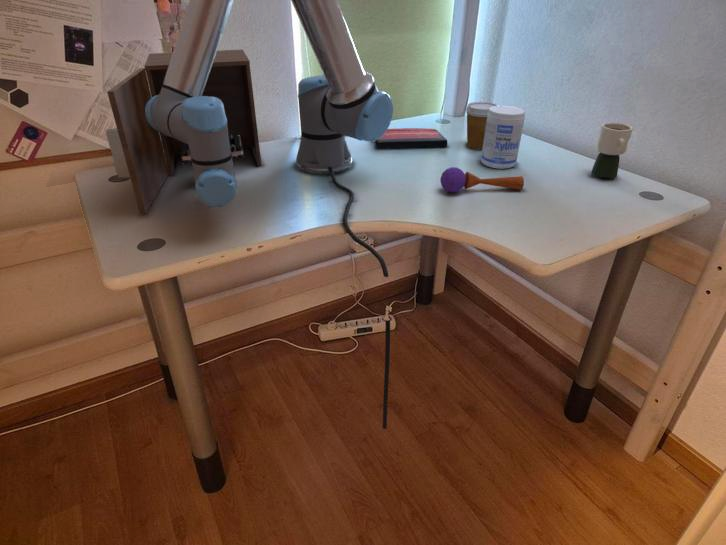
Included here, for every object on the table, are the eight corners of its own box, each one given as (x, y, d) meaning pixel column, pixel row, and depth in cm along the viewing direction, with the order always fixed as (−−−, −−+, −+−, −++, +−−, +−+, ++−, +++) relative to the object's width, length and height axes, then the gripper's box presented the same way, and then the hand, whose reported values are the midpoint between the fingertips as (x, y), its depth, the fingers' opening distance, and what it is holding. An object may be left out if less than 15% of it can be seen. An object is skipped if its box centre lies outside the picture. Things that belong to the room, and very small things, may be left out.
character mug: (625, 184, 124) (641, 133, 117) (597, 184, 124) (611, 132, 117) (608, 168, 133) (622, 120, 126) (582, 168, 133) (594, 120, 126)
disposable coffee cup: (495, 143, 151) (501, 103, 145) (491, 152, 144) (497, 111, 137) (464, 140, 154) (468, 100, 147) (459, 149, 146) (463, 108, 140)
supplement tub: (493, 172, 131) (502, 116, 123) (473, 160, 138) (480, 107, 130) (523, 167, 134) (533, 112, 126) (502, 156, 141) (510, 103, 133)
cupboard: (274, 200, 115) (261, 79, 101) (127, 218, 108) (90, 89, 93) (254, 146, 149) (242, 49, 134) (141, 156, 141) (116, 55, 126)
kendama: (528, 179, 116) (445, 175, 114) (520, 200, 120) (440, 196, 118) (521, 166, 120) (441, 161, 118) (514, 186, 124) (436, 182, 122)
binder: (447, 139, 146) (377, 141, 145) (447, 147, 148) (377, 149, 146) (436, 126, 160) (372, 128, 159) (435, 133, 161) (372, 135, 160)
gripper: (169, 186, 105) (172, 151, 123) (261, 176, 109) (251, 144, 128) (161, 151, 101) (166, 121, 119) (257, 143, 105) (247, 115, 124)
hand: (210, 133), depth 124 cm, fingers closed on beverage can, 6 cm apart
